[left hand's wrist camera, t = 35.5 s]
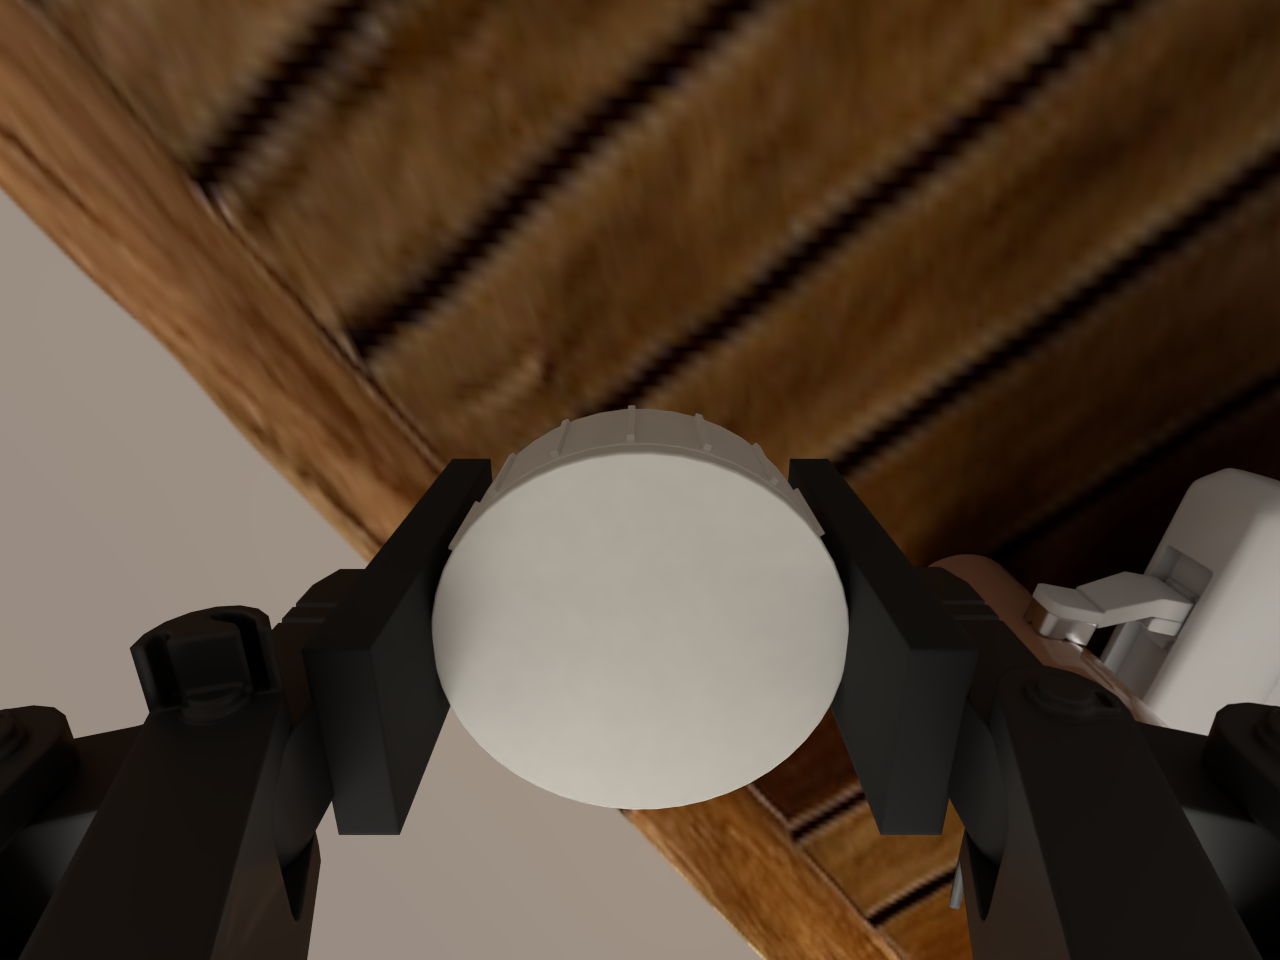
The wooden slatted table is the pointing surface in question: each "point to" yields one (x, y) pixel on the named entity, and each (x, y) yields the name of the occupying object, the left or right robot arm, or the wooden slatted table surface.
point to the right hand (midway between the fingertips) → (1002, 682)
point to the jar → (1011, 606)
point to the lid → (640, 613)
